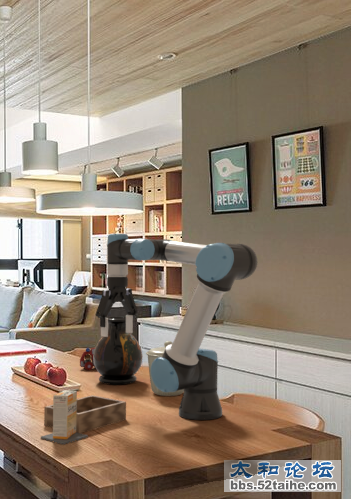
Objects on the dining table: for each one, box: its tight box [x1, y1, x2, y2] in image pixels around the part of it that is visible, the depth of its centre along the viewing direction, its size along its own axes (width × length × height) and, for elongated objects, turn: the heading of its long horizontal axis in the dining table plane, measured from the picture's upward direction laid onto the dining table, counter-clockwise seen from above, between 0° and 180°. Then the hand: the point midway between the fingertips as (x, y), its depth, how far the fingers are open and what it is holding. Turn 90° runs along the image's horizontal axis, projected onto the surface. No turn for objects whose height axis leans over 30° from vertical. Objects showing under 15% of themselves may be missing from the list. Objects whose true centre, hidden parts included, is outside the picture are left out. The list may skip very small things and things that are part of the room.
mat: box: [40, 432, 89, 445], centre depth 198 cm, size 10×10×1 cm
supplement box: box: [52, 389, 78, 439], centre depth 198 cm, size 8×5×13 cm, turn 168°
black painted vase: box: [93, 316, 143, 386], centre depth 285 cm, size 22×22×28 cm
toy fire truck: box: [79, 347, 95, 371], centre depth 316 cm, size 7×12×10 cm, turn 110°
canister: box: [145, 340, 184, 397], centre depth 262 cm, size 18×18×21 cm
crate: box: [43, 394, 127, 434], centre depth 217 cm, size 22×16×6 cm
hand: (117, 334), depth 237 cm, fingers open, 13 cm apart
